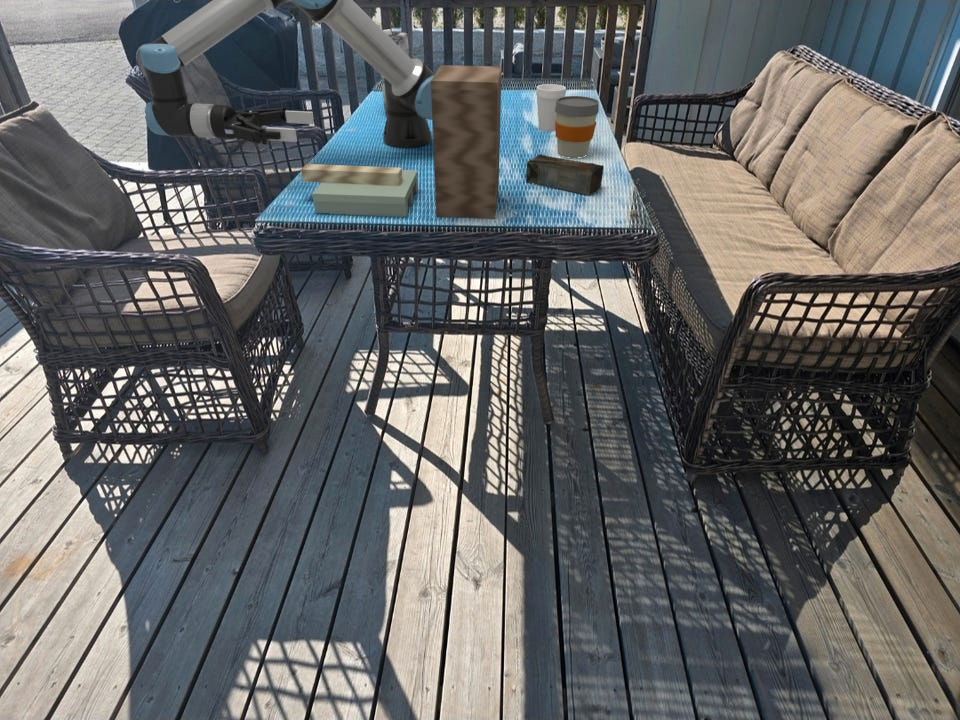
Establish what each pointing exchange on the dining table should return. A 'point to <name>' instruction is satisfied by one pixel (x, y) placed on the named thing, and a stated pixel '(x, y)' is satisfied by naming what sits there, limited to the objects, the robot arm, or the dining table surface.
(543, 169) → the beverage carton
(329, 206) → the grey-green flat box
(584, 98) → the reusable coffee cup
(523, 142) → the dining table surface
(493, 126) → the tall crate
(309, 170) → the pine slat
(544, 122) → the foam cup
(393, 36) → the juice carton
